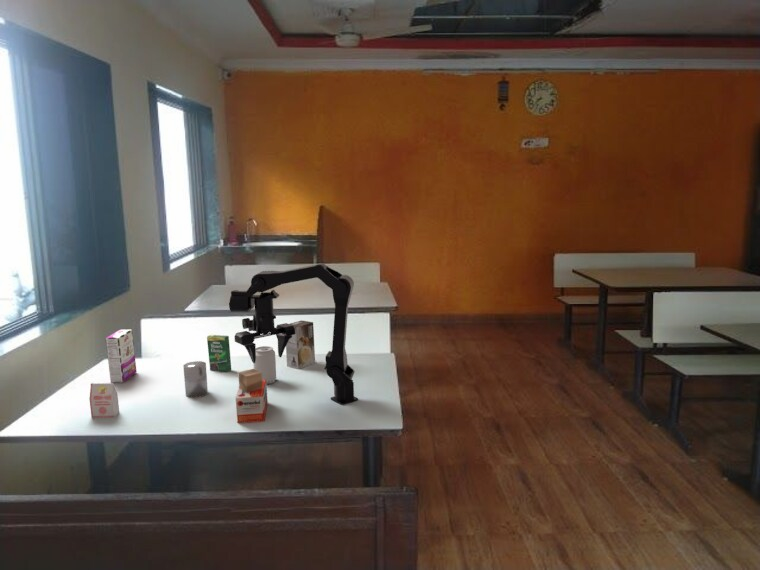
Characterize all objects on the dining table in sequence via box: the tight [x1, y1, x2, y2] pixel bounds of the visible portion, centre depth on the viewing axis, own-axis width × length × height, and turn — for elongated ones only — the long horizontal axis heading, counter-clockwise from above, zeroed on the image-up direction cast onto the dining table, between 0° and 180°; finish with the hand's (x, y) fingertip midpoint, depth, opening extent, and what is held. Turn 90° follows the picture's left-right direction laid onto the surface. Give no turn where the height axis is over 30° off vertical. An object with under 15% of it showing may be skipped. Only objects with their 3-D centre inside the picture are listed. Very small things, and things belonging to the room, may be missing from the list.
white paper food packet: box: [89, 382, 120, 418], centre depth 180 cm, size 4×7×10 cm, turn 90°
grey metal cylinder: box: [182, 360, 209, 399], centre depth 196 cm, size 7×7×10 cm
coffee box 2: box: [285, 319, 316, 370], centre depth 224 cm, size 9×6×16 cm
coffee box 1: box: [206, 334, 232, 373], centre depth 220 cm, size 8×3×13 cm, turn 70°
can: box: [253, 345, 277, 385], centre depth 207 cm, size 8×8×12 cm
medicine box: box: [235, 380, 269, 424], centre depth 180 cm, size 15×8×8 cm, turn 7°
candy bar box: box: [105, 328, 137, 384], centre depth 213 cm, size 11×5×16 cm, turn 179°
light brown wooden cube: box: [238, 368, 262, 393], centre depth 179 cm, size 5×5×5 cm
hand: (267, 359), depth 190 cm, fingers open, 9 cm apart
